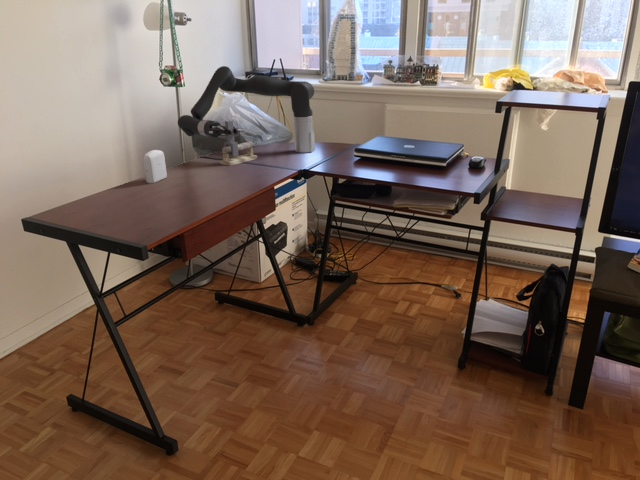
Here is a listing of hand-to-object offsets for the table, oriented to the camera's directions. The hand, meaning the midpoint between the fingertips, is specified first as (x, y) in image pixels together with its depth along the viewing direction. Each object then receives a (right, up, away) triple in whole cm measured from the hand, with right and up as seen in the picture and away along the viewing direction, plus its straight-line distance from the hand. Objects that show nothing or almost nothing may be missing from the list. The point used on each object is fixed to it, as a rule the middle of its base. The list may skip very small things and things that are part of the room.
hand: (234, 131), depth 244 cm
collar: (-2, -10, +6) cm, 11 cm away
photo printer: (-29, -24, -20) cm, 42 cm away
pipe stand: (+1, -12, +10) cm, 15 cm away
